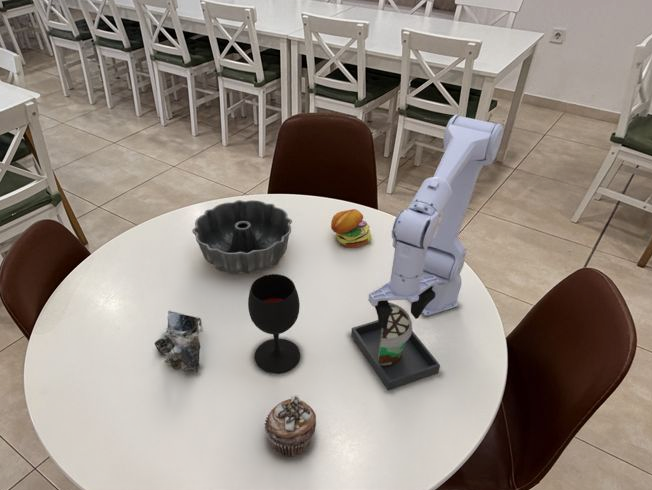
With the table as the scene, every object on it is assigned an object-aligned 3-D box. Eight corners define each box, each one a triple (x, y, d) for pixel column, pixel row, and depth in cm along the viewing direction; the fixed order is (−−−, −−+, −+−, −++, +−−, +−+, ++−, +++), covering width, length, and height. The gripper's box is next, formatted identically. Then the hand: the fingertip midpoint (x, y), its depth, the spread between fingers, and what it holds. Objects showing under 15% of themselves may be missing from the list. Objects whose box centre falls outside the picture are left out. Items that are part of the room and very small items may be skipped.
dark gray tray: (397, 321, 118) (398, 313, 116) (438, 373, 106) (440, 365, 104) (351, 336, 115) (351, 327, 113) (387, 390, 103) (389, 382, 101)
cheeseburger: (369, 252, 138) (362, 221, 131) (332, 254, 142) (324, 224, 136) (374, 231, 145) (369, 201, 138) (339, 234, 149) (332, 205, 142)
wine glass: (266, 380, 106) (259, 312, 92) (246, 349, 113) (237, 281, 99) (308, 362, 109) (308, 294, 95) (287, 333, 116) (284, 265, 102)
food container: (406, 376, 105) (412, 344, 99) (376, 372, 106) (381, 340, 100) (407, 335, 114) (414, 303, 107) (381, 332, 115) (385, 300, 108)
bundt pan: (264, 219, 152) (262, 189, 145) (311, 263, 135) (311, 232, 128) (184, 247, 142) (177, 217, 135) (223, 298, 126) (218, 266, 119)
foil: (219, 316, 116) (194, 329, 101) (214, 360, 118) (188, 379, 104) (173, 307, 118) (142, 318, 103) (168, 350, 120) (137, 367, 106)
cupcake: (291, 409, 100) (290, 377, 93) (326, 439, 95) (327, 408, 88) (255, 438, 96) (251, 407, 89) (289, 471, 91) (288, 440, 84)
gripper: (384, 291, 89) (376, 343, 99) (452, 271, 93) (439, 323, 102) (365, 269, 94) (360, 320, 104) (431, 251, 98) (420, 302, 107)
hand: (398, 320), depth 103 cm, fingers open, 7 cm apart
